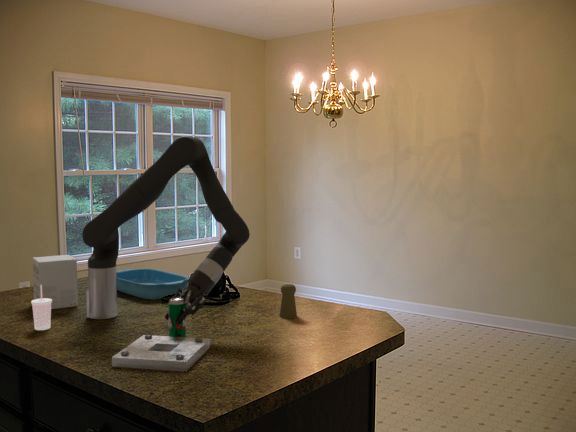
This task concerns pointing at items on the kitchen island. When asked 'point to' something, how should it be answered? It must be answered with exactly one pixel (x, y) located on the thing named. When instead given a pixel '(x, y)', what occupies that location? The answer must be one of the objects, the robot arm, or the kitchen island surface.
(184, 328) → the soda can
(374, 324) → the kitchen island surface
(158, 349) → the socket plate
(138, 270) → the casserole dish
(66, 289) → the supplement box
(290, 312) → the cork
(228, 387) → the kitchen island surface
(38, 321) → the beverage cup
